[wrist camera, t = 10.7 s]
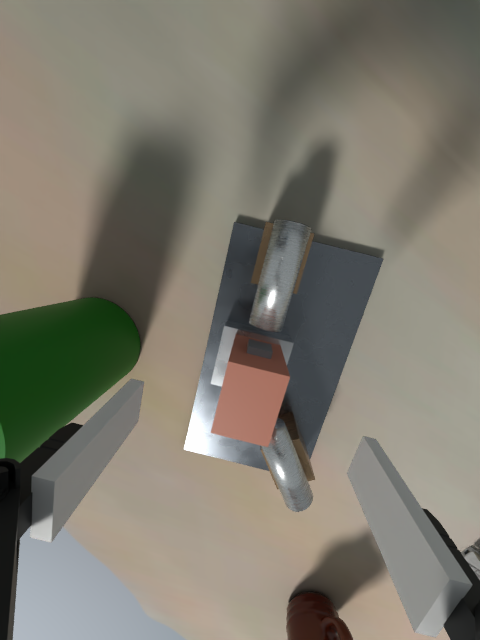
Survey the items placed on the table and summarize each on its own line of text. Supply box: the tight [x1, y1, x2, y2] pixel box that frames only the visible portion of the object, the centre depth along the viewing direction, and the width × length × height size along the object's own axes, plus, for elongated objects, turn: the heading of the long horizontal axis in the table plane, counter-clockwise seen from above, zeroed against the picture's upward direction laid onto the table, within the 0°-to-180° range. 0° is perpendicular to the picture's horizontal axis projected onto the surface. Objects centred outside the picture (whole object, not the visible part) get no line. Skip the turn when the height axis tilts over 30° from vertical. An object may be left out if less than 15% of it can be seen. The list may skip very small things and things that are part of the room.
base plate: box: [184, 220, 383, 471], centre depth 24 cm, size 27×15×8 cm, turn 167°
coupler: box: [211, 334, 290, 447], centre depth 22 cm, size 7×4×7 cm, turn 166°
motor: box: [0, 297, 140, 463], centre depth 19 cm, size 10×9×20 cm
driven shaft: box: [260, 412, 315, 512], centre depth 25 cm, size 8×4×7 cm, turn 22°
